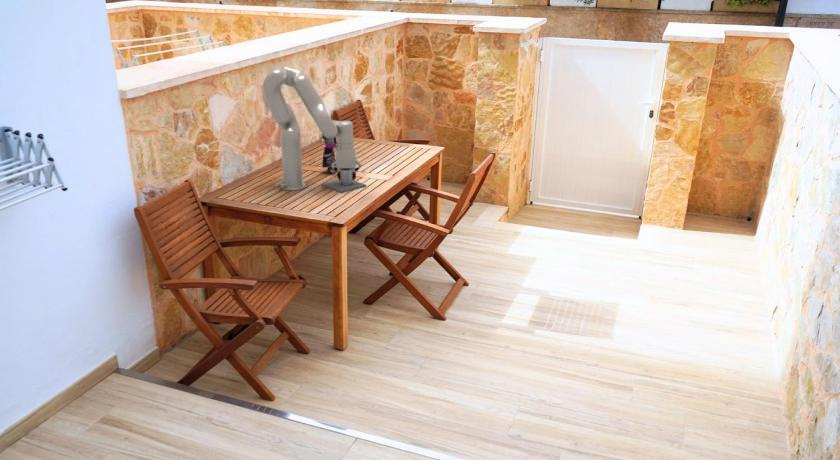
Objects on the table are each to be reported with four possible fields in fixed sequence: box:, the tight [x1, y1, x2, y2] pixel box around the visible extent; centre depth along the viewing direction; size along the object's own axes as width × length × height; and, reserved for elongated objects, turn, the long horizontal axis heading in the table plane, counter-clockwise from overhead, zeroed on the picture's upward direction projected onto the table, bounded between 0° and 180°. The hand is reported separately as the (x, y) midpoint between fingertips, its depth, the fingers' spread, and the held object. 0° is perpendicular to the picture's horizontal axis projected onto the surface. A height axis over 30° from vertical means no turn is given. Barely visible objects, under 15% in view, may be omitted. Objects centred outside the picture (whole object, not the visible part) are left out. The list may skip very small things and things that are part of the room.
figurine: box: [320, 133, 338, 175], centre depth 361 cm, size 17×8×30 cm, turn 168°
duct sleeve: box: [340, 168, 353, 184], centre depth 346 cm, size 7×6×7 cm
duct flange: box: [321, 179, 367, 194], centre depth 346 cm, size 16×16×6 cm
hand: (346, 179), depth 347 cm, fingers closed on duct sleeve, 6 cm apart
